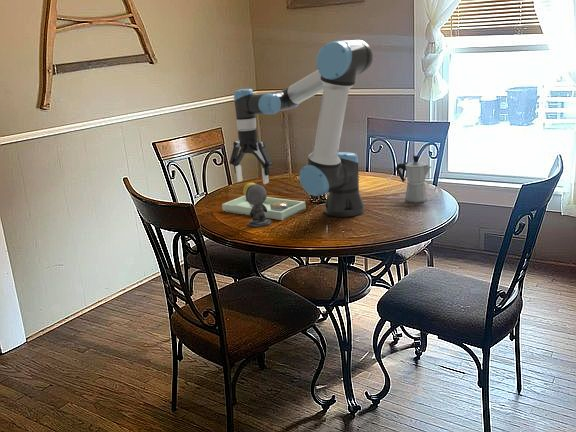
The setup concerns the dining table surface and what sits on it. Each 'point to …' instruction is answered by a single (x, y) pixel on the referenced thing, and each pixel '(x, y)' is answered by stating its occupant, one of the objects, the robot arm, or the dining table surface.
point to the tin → (279, 206)
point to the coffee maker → (414, 180)
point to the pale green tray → (243, 206)
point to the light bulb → (246, 190)
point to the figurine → (257, 206)
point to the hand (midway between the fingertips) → (252, 182)
